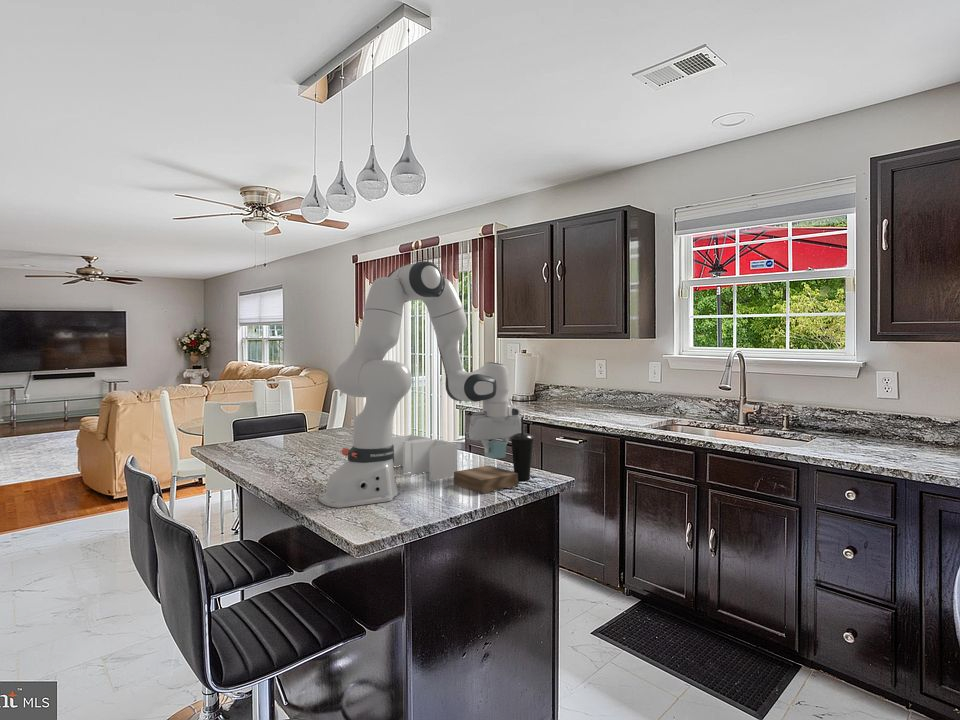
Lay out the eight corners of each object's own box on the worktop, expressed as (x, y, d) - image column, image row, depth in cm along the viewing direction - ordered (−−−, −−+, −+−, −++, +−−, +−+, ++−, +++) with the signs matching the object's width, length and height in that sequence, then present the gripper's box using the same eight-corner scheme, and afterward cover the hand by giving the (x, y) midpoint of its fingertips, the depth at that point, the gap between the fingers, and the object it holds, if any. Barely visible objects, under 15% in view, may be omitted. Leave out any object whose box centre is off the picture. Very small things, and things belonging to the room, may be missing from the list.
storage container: (457, 475, 184) (457, 443, 184) (431, 481, 177) (431, 447, 176) (411, 464, 202) (411, 434, 202) (386, 469, 195) (385, 438, 194)
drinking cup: (535, 481, 176) (535, 418, 175) (511, 481, 175) (511, 418, 175) (532, 475, 183) (532, 415, 183) (509, 476, 183) (509, 415, 183)
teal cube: (493, 458, 183) (494, 443, 183) (484, 456, 187) (484, 441, 187) (505, 457, 186) (505, 442, 186) (496, 454, 190) (496, 440, 190)
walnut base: (481, 493, 161) (481, 480, 161) (454, 484, 172) (454, 471, 172) (517, 486, 170) (517, 473, 170) (489, 477, 181) (489, 465, 181)
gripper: (476, 413, 178) (476, 456, 178) (524, 410, 190) (523, 450, 190) (465, 411, 183) (464, 453, 183) (512, 408, 195) (511, 447, 195)
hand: (495, 451), depth 187 cm, fingers closed on teal cube, 5 cm apart
